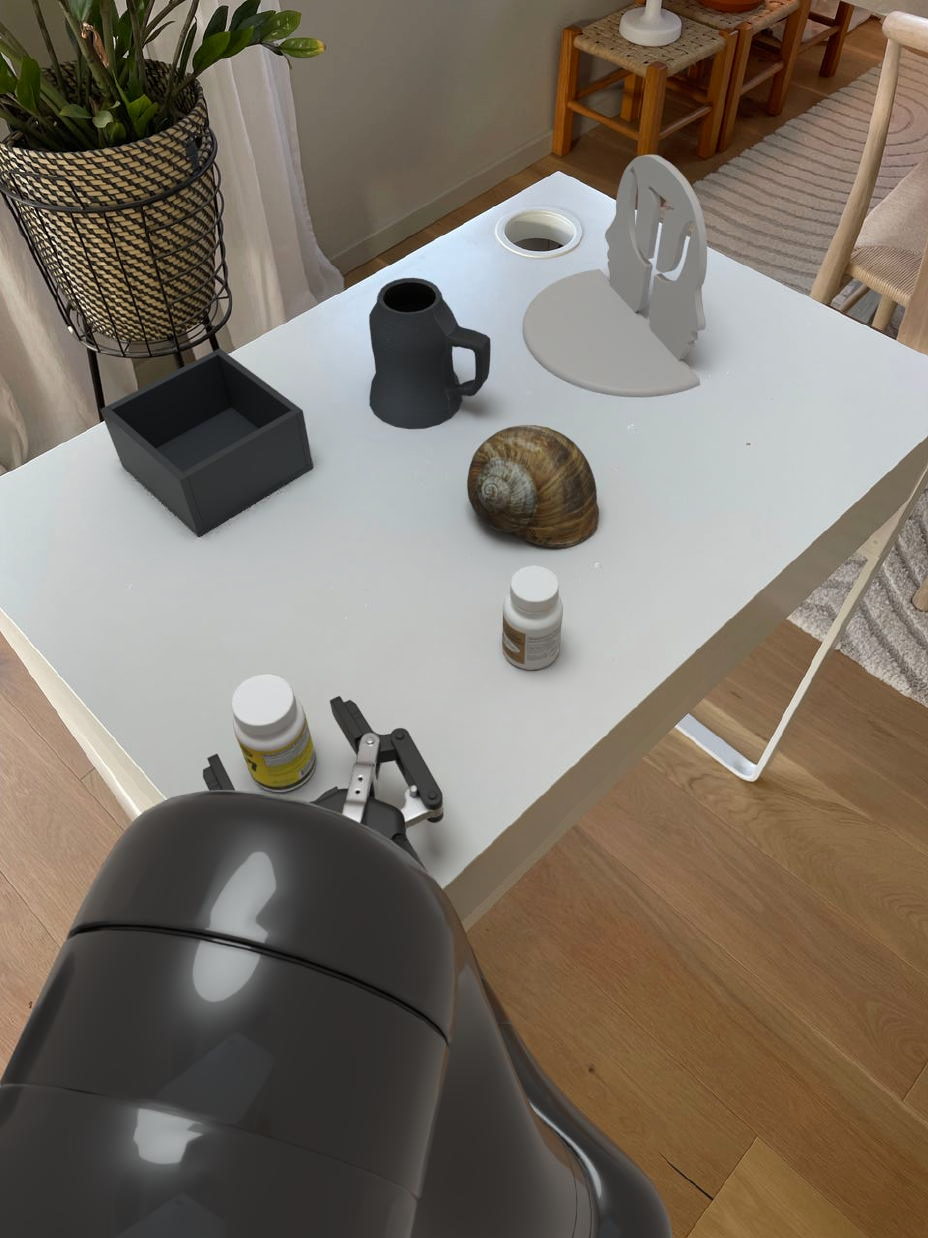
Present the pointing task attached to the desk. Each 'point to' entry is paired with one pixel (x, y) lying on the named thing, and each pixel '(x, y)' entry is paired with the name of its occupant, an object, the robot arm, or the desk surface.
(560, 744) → the desk surface
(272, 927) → the robot arm
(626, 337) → the ornament
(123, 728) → the desk surface
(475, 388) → the mug
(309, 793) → the desk surface
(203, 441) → the bin
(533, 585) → the pill bottle
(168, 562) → the desk surface
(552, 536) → the seashell
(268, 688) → the supplement bottle
